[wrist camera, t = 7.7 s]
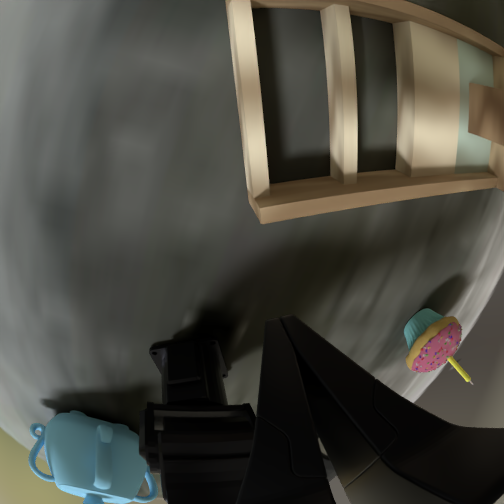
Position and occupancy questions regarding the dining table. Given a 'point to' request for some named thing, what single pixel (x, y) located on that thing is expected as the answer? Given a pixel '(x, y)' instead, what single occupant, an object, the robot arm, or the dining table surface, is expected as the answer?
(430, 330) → the cupcake
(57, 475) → the decorative pot
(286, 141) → the dining table surface
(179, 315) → the dining table surface
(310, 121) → the dining table surface
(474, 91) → the walnut block
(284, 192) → the board
